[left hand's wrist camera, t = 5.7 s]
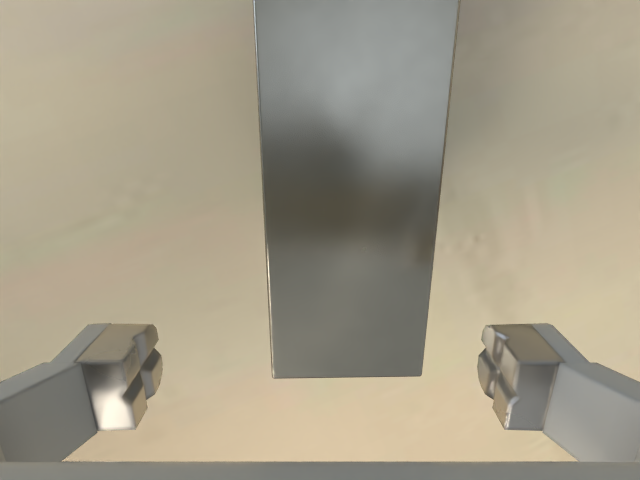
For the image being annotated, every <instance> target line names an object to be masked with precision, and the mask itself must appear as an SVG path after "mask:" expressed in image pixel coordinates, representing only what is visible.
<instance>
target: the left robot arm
mask: <svg viewBox="0 0 640 480" xmlns="http://www.w3.org/2000/svg"><path fill="white" fill-rule="evenodd" d="M158 340H159V339H158V334H157V329H156V327H155V326H154V325H153V324H111V323H100V324H89V325H87V326H86V327H85V328H84V329H83V330H82V331H81V332H80V333H79V334H78V335H77V336H76V337H75V338H74V339H73V340H72V341H71V342H70V343H69V344H68V345H67V346H66V347H65V348H64V349H63V350H62V351H61V352H60V353H59V354H58V355H57V356H56V357H55V358H54V359H53V360H52V361H51V362H50V363H42V364H39V365H37V366H35V367H33V368H31V369H28V370H26V371H24V372H22V373H19V374H17V375H15V376H13V377H11V378H8V379H6V380H4V381H2V382H0V480H640V382H638V381H636V380H634V379H632V378H629V377H627V376H625V375H623V374H620V373H618V372H616V371H614V370H612V369H609V368H607V367H605V366H603V365H601V364H598V363H590V362H589V361H588V360H587V359H586V358H585V357H584V356H583V355H582V354H581V353H580V352H579V351H578V350H577V349H576V348H575V347H574V346H573V345H572V344H571V343H570V342H569V341H568V340H567V339H566V338H565V337H564V336H563V335H562V334H561V333H560V332H559V331H558V330H557V329H556V328H555V327H554V326H553V325H551V324H548V323H538V324H507V325H485V328H484V330H483V333H482V339H481V340H482V342H483V343H484V345H485V346H486V348H485V349H484V350H483V351H482V352H481V354H480V355H479V358H478V366H477V367H478V378H479V381H480V384H481V387H482V389H483V391H484V393H485V394H486V395H487V396H489V397H490V398H492V399H493V400H494V402H493V410H494V411H495V413H496V415H497V417H498V419H499V421H500V422H501V424H502V426H503V428H504V430H534V431H543V433H544V434H545V435H546V436H548V437H549V438H550V439H551V440H553V441H554V442H555V443H556V444H558V445H559V446H560V447H562V448H563V449H564V450H565V451H567V452H568V453H569V454H570V455H572V456H573V457H574V458H575V459H577V460H578V461H579V462H61V461H62V460H63V459H65V458H66V457H67V456H69V455H70V454H71V453H72V452H74V451H75V450H76V449H77V448H79V447H80V446H81V445H82V444H84V443H85V442H86V441H87V440H89V439H90V438H91V437H93V436H94V435H95V434H96V433H97V431H106V430H136V428H137V426H138V424H139V422H140V421H141V419H142V417H143V415H144V413H145V411H146V410H147V402H146V400H147V399H148V398H150V397H151V396H153V395H154V394H155V393H156V391H157V389H158V387H159V385H160V381H161V377H162V358H161V355H160V354H159V352H158V351H157V350H156V349H155V348H154V346H155V345H156V343H157V342H158Z"/></svg>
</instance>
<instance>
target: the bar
mask: <svg viewBox="0 0 640 480" xmlns="http://www.w3.org/2000/svg"><path fill="white" fill-rule="evenodd" d="M459 9H460V0H253V15H254V34H255V54H256V73H257V93H258V112H259V132H260V152H261V171H262V191H263V210H264V230H265V249H266V269H267V289H268V308H269V328H270V347H271V367H272V377H273V378H339V377H406V376H421V375H422V367H423V357H424V348H425V338H426V328H427V319H428V309H429V299H430V290H431V280H432V270H433V261H434V251H435V241H436V232H437V222H438V212H439V203H440V193H441V183H442V174H443V164H444V154H445V145H446V135H447V125H448V116H449V106H450V96H451V87H452V77H453V67H454V58H455V48H456V38H457V29H458V19H459Z"/></svg>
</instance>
